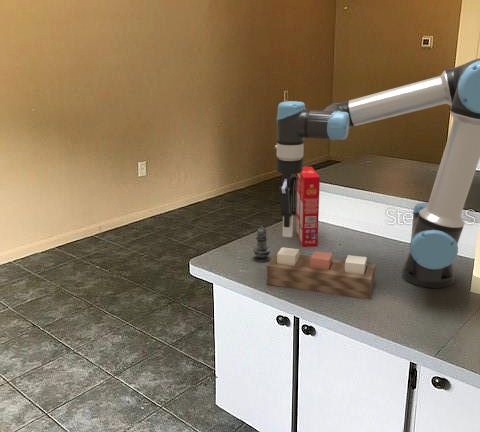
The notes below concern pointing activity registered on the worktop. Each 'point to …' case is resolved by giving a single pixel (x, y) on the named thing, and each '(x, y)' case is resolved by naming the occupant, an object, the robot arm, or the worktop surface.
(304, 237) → the food packaging
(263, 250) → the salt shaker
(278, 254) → the far button
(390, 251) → the worktop surface
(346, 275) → the mount
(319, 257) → the middle button
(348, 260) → the near button
